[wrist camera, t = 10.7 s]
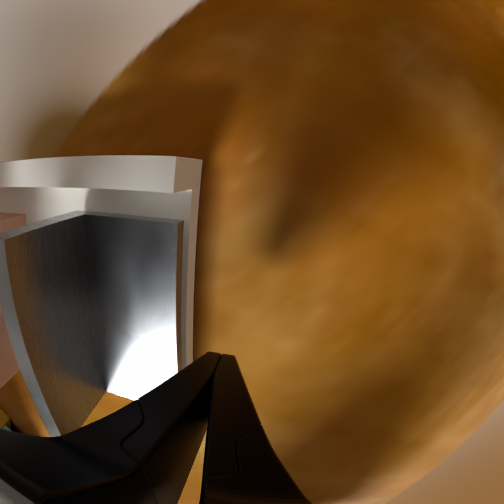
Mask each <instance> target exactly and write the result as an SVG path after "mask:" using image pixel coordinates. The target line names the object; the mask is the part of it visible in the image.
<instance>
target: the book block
mask: <svg viewBox="0 0 504 504" xmlns="http://www.w3.org/2000/svg"><path fill="white" fill-rule="evenodd" d="M24 225H26V214H17V213H2V212H0V233H2V232H5V231H8V230H11V229H14V228H18V227H21V226H24ZM19 371H20V368H19V365H18V362H17V360H16V357H15V354H14V351H13V348H12V345H11V341H10V338H9V335H8V331H7V328H6V324H5V320H4V317H3V313H2V309H1V304H0V388H1V387H2V386H4V385H5V384H6V383H7V382H8V381H9V380H10V379H11V378H12V377H13V376H14V375H15V374H16V373H18V372H19Z"/></svg>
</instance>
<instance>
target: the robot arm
mask: <svg viewBox="0 0 504 504" xmlns="http://www.w3.org/2000/svg"><path fill="white" fill-rule="evenodd" d="M206 430H207V434H206V444H205V454H204V464H203V475H202V486H201V495H200V502H199V504H312V503H311V502H310V501H309V500H308V499H307V498H306V497H305V496H304V495H303V493H302V492H301V491H300V489H299V488H298V487H297V485H296V484H295V482H294V481H293V479H292V478H291V476H290V475H289V473H288V472H287V471H286V469H285V468H284V466H283V465H282V463H281V461H280V460H279V458H278V457H277V455H276V453H275V452H274V450H273V448H272V446H271V444H270V442H269V440H268V438H267V436H266V434H265V431H264V429H263V426H262V425H261V422H260V419H259V417H258V414H257V412H256V409H255V407H254V404H253V402H252V399H251V397H250V394H249V392H248V389H247V386H246V384H245V381H244V379H243V376H242V373H241V371H240V368H239V365H238V363H237V360H236V357H235V356H234V355H228V354H222V355H221V354H220V353H215V352H207V353H205V354H204V355H202V356H201V357H200V358H198V359H197V360H195V361H194V362H192V363H191V364H189V365H188V366H186V367H185V368H183V369H182V370H180V371H179V372H178V373H176V374H175V375H173V376H172V377H170V378H169V379H167V380H166V381H164V382H162V383H161V384H159V385H158V386H156V387H155V388H153V389H152V390H150V391H149V392H147V393H146V394H144V395H142V396H141V397H139V398H138V400H134V401H133V402H131V403H130V404H128V405H126V406H125V407H123V408H121V409H119V410H118V411H116V412H114V413H112V414H110V415H108V416H106V417H104V418H102V419H100V420H97V421H95V422H93V423H91V424H88V425H86V426H84V427H81V428H79V429H76V430H74V431H72V432H69V433H67V434H64V435H61V436H56V437H40V436H34V435H28V434H23V433H18V432H13V431H8V430H4V429H0V504H177V503H178V501H179V498H180V496H181V493H182V491H183V488H184V486H185V483H186V481H187V478H188V476H189V473H190V471H191V468H192V466H193V463H194V460H195V458H196V455H197V453H198V450H199V448H200V445H201V443H202V440H203V437H204V435H205V432H206Z"/></svg>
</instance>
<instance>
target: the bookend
mask: <svg viewBox="0 0 504 504" xmlns="http://www.w3.org/2000/svg"><path fill="white" fill-rule="evenodd" d="M183 230H184V220H175V219H166V218H156V217H146V216H135V215H125V214H114V213H103V212H91V211H79V210H77V211H73V212H69V213H66V214H62V215H58V216H55V217H51V218H48V219H44V220H41V221H37V222H34V223H30V224H27V225H24V226H21V227H18V228H14V229H11V230H8V231H5V232H2V233H0V304H1V309H2V313H3V317H4V320H5V324H6V328H7V331H8V335H9V338H10V341H11V345H12V348H13V351H14V354H15V357H16V360H17V362H18V365H19V368H20V371H21V373H22V376H23V378H24V381H25V383H26V386H27V388H28V391H29V393H30V395H31V398H32V400H33V402H34V404H35V406H36V409H37V411H38V413H39V415H40V417H41V419H42V421H43V423H44V425H45V427H46V429H47V431H48V433H49V434H50V436H51V437H56V436H61V435H64V434H67V433H69V432H72V431H74V430H76V429H79V428H81V426H82V425H83V423H84V422H85V421H86V419H87V418H88V416H89V415H90V414H91V412H92V411H93V409H94V408H95V407H96V405H97V404H98V402H99V401H100V400H101V398H102V397H103V395H104V394H105V393H106V391H107V392H110V393H113V394H116V395H119V396H122V397H125V398H128V399H131V400H138V398H139V397H141V396H142V395H144V394H146V393H147V392H149V391H150V390H152V389H153V388H155V387H156V386H158V385H159V384H161V383H162V382H164V381H166V380H167V379H169V378H170V377H172V376H173V375H175V374H176V373H178V372H179V371H180V370H182V353H181V285H182V252H183Z"/></svg>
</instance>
